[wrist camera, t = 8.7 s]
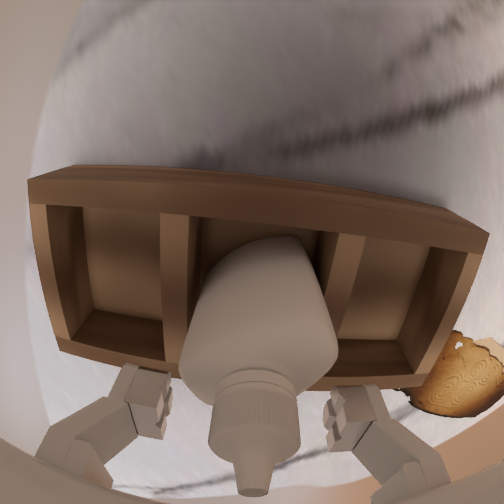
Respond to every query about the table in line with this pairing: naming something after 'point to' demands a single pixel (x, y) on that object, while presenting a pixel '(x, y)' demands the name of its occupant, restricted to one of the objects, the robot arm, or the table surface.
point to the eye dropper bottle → (258, 354)
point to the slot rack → (232, 237)
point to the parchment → (461, 379)
